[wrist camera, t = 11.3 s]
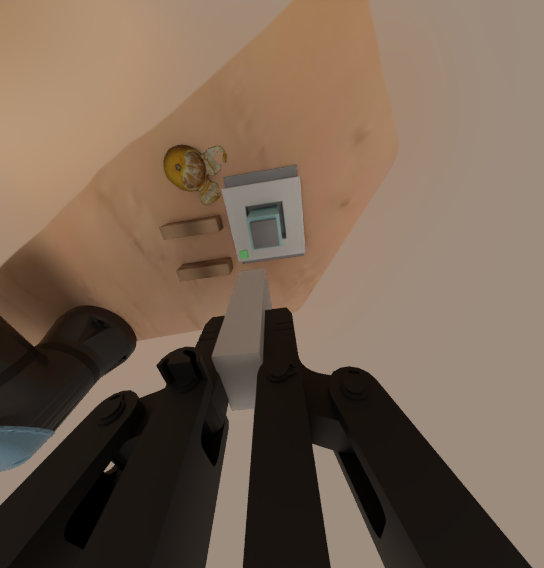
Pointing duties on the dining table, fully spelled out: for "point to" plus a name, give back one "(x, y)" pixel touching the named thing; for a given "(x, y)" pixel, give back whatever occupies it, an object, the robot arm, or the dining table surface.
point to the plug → (264, 227)
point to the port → (261, 193)
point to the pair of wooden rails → (191, 229)
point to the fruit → (193, 170)
